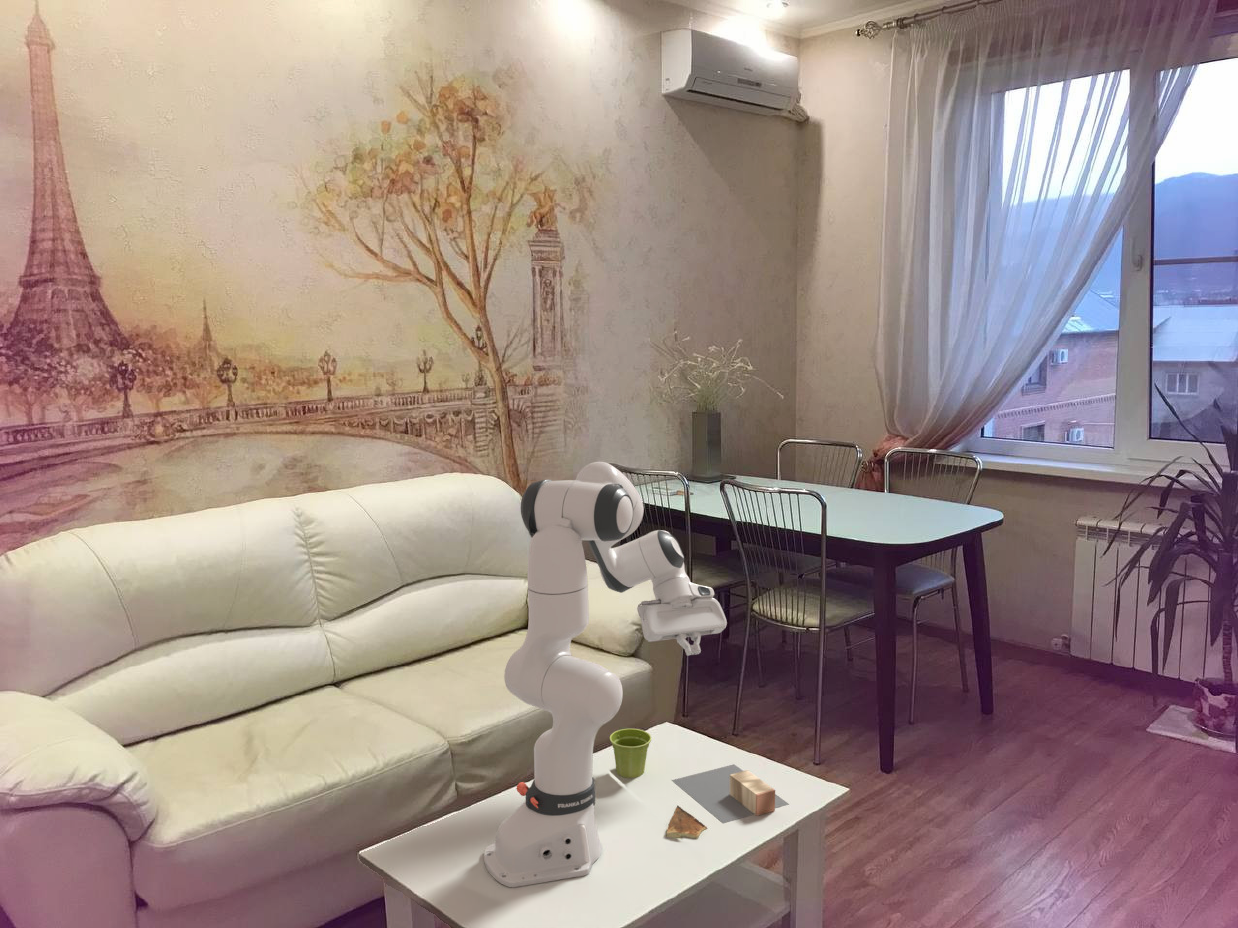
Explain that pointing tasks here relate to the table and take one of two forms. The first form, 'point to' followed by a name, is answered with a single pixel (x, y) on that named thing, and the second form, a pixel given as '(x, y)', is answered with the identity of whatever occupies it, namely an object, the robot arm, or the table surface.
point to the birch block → (752, 792)
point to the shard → (684, 825)
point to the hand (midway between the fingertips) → (694, 653)
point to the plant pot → (630, 751)
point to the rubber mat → (718, 793)
